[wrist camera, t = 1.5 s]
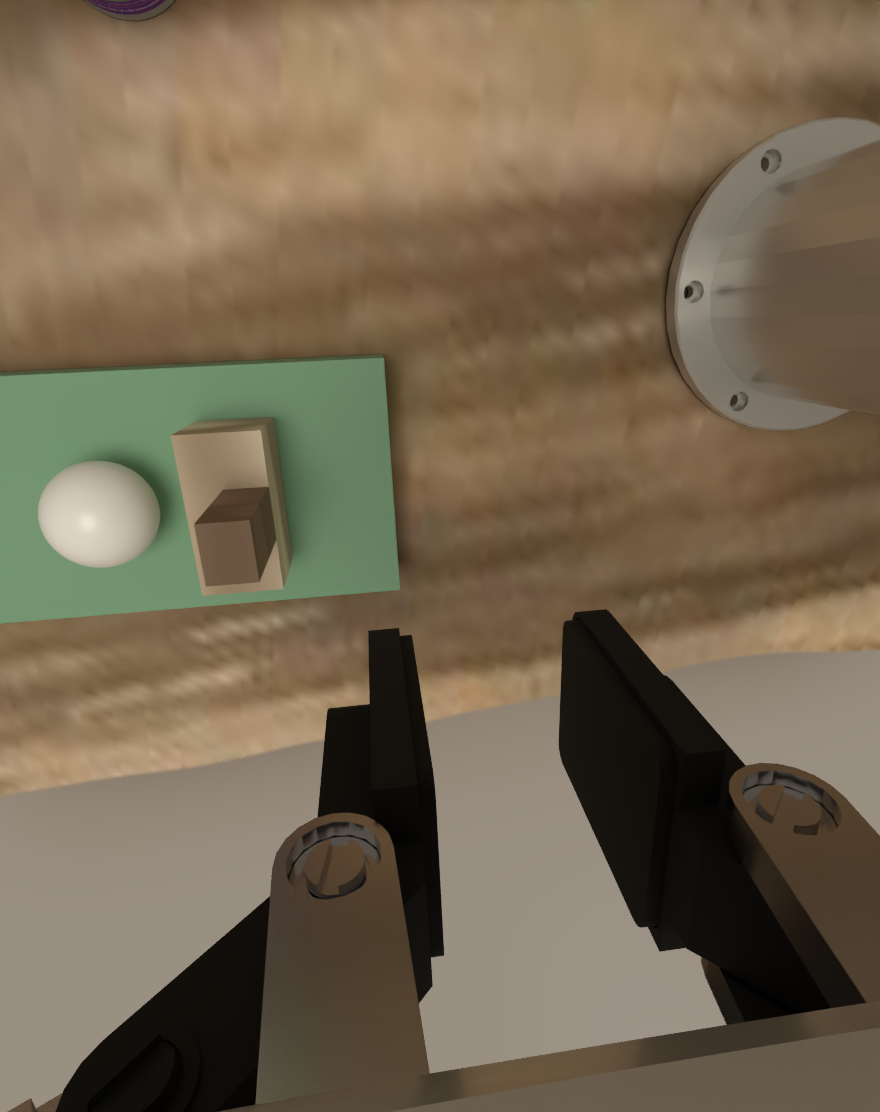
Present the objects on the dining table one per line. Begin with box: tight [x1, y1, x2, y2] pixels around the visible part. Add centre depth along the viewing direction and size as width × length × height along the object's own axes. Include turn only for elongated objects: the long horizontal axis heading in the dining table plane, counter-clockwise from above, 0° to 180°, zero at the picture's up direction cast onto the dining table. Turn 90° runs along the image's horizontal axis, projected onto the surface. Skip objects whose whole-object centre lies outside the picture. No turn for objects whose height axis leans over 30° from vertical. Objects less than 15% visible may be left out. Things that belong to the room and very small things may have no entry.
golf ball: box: [38, 461, 160, 568], centre depth 23 cm, size 4×4×4 cm
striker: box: [171, 417, 292, 596], centre depth 22 cm, size 3×6×7 cm, turn 2°
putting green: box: [0, 354, 400, 624], centre depth 26 cm, size 28×10×3 cm, turn 92°
